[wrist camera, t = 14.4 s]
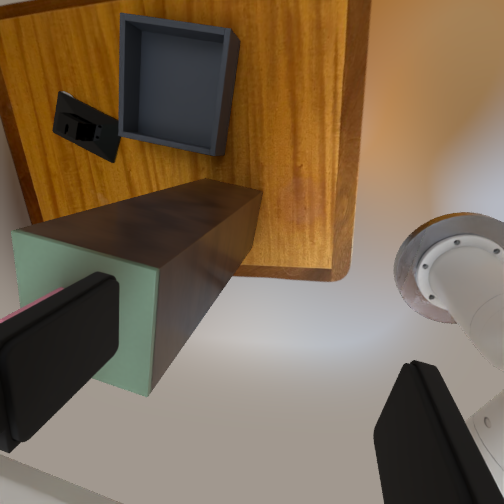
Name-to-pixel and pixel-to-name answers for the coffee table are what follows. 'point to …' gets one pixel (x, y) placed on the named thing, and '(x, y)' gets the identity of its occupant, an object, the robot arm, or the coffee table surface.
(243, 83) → the coffee table surface
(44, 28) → the coffee table surface
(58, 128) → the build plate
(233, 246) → the stand
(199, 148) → the basin
